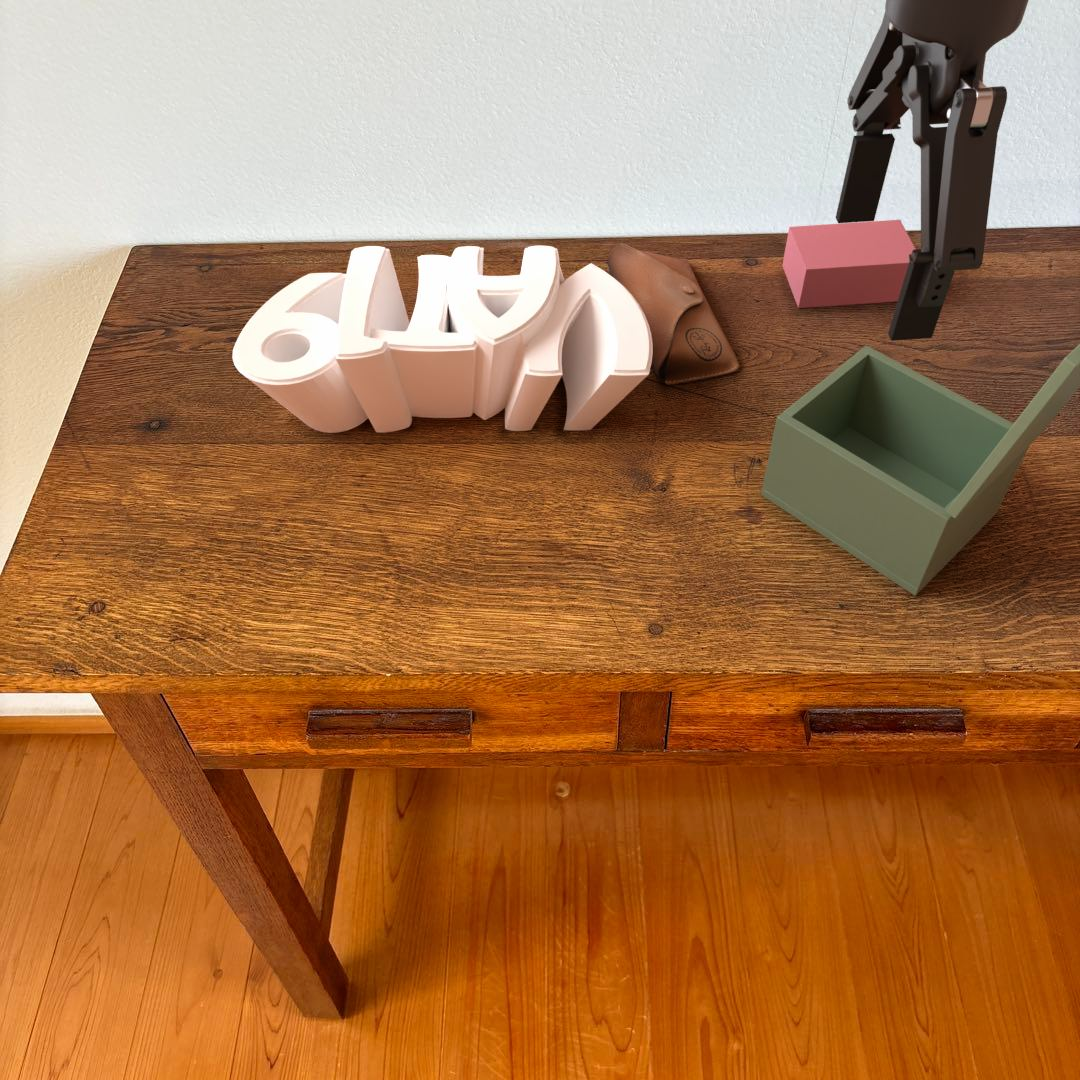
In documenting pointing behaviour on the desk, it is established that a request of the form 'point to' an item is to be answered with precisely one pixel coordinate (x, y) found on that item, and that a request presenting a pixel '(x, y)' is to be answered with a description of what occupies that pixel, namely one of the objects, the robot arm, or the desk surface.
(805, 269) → the pink rectangular block
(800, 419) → the box
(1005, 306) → the desk surface
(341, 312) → the wavy white extrusion
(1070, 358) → the lid
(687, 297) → the sunglasses case
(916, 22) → the robot arm
